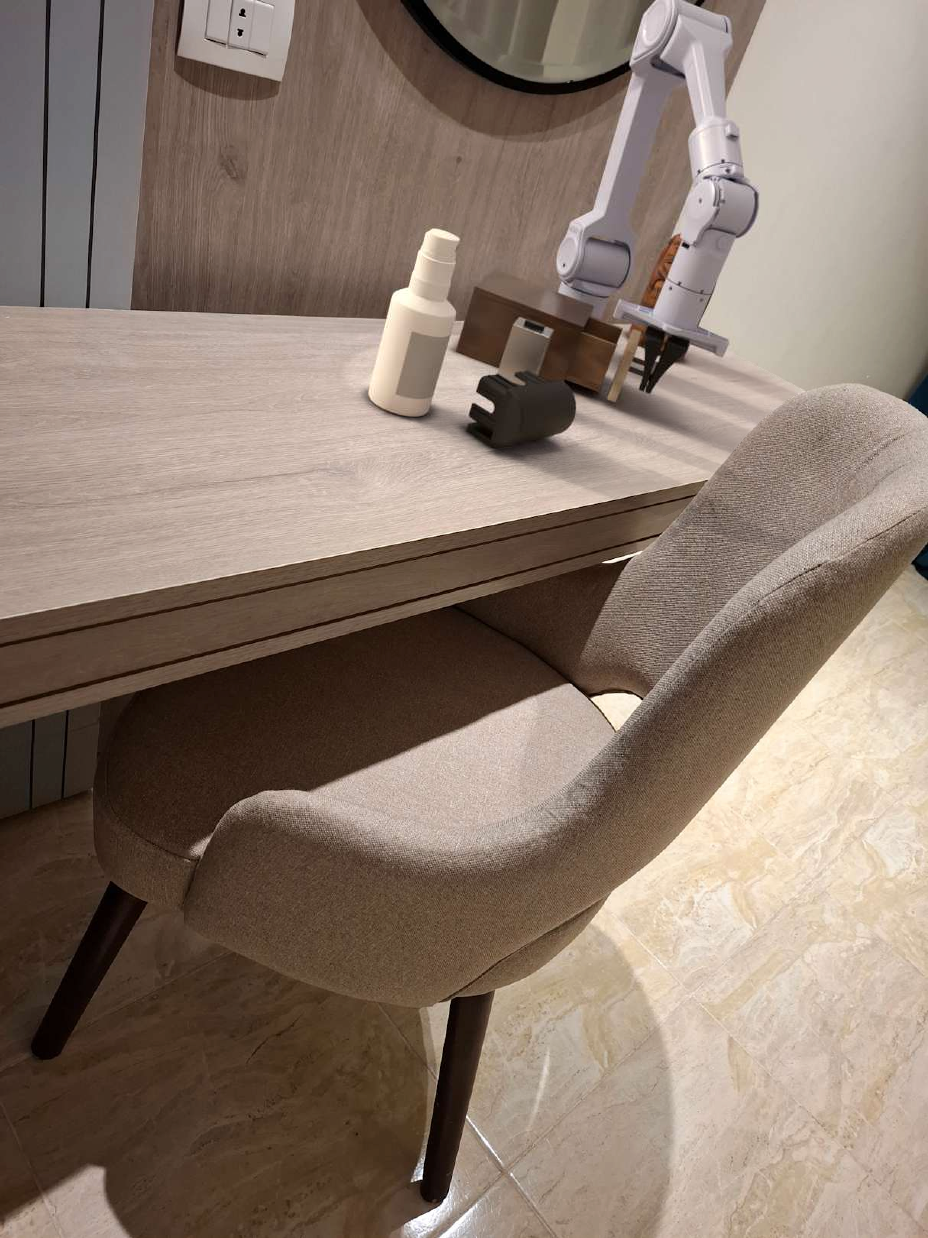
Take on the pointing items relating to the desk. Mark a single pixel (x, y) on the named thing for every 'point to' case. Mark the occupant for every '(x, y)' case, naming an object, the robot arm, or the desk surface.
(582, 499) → the desk surface
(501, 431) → the end cap
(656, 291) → the wooden figurine
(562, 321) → the cabinet
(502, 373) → the grey rectangular block
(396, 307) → the spray bottle
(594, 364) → the drawer
